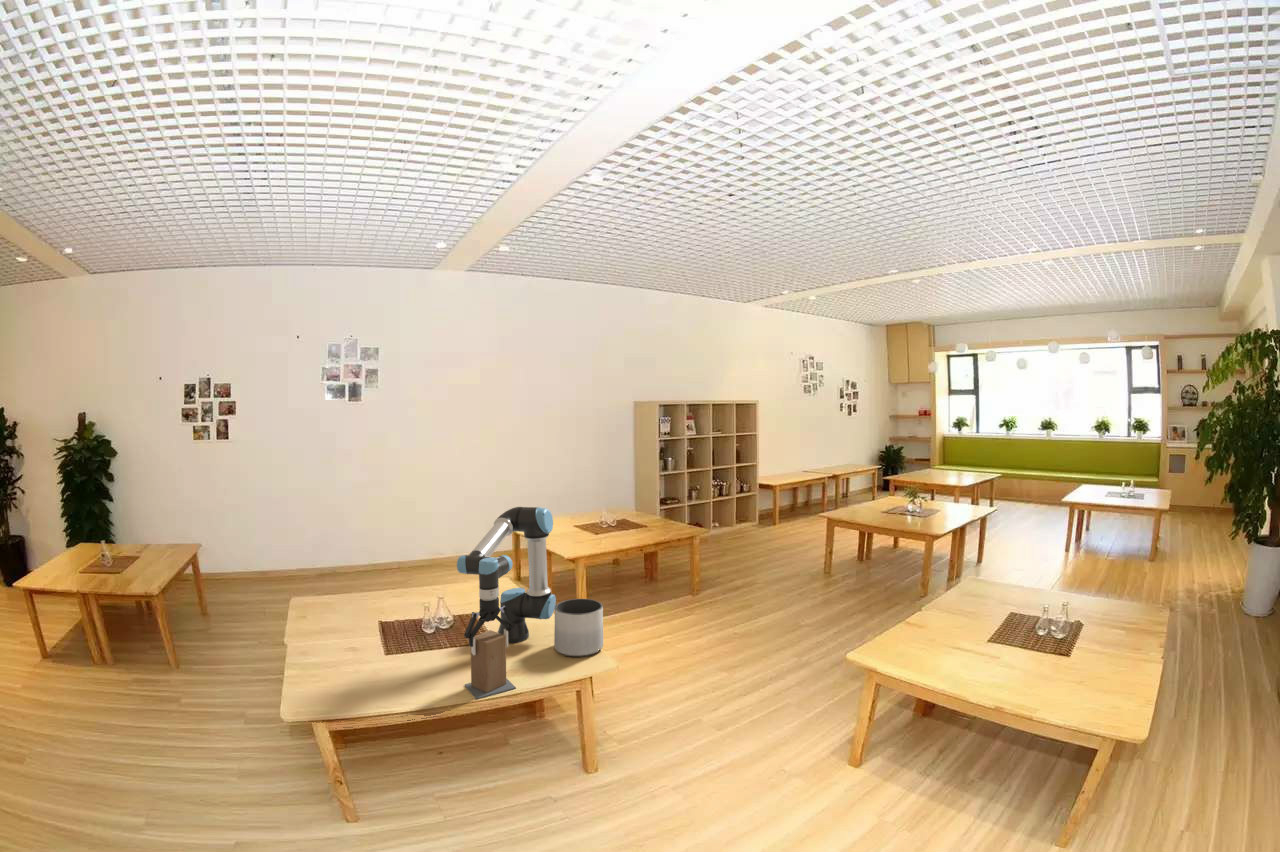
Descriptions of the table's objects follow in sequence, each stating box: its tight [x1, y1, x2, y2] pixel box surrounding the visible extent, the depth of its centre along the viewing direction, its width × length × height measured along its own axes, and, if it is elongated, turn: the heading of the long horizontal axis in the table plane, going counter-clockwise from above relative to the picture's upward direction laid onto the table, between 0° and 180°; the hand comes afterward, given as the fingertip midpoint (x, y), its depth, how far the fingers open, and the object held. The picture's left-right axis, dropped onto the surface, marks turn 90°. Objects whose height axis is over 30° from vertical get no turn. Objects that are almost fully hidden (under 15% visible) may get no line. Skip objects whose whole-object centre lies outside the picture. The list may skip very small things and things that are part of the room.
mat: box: [464, 677, 516, 701], centre depth 245 cm, size 14×16×1 cm
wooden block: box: [470, 629, 507, 693], centre depth 245 cm, size 10×10×20 cm
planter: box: [553, 598, 604, 658], centre depth 283 cm, size 23×23×20 cm
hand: (490, 649), depth 245 cm, fingers open, 13 cm apart
